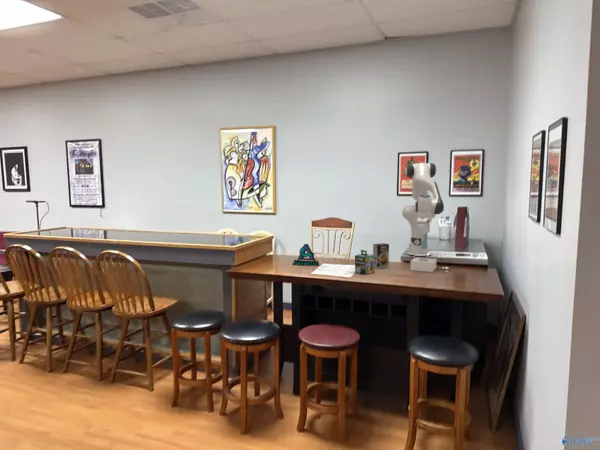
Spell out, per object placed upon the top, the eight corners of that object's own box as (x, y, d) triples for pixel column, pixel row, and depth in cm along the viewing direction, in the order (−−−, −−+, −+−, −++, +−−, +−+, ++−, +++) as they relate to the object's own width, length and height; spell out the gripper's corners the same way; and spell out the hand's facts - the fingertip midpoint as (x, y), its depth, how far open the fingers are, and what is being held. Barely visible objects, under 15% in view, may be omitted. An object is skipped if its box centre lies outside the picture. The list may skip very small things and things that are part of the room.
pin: (421, 247, 276) (421, 232, 275) (427, 248, 274) (428, 233, 273) (420, 248, 272) (420, 233, 271) (426, 248, 270) (426, 233, 269)
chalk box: (374, 272, 266) (374, 249, 265) (365, 275, 260) (365, 251, 259) (363, 270, 273) (363, 248, 272) (354, 272, 267) (354, 250, 266)
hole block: (415, 265, 284) (415, 257, 284) (436, 267, 278) (436, 258, 277) (410, 270, 272) (410, 261, 271) (432, 272, 265) (432, 262, 265)
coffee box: (377, 268, 277) (377, 245, 275) (372, 267, 283) (372, 243, 281) (389, 267, 280) (389, 244, 278) (383, 265, 286) (384, 242, 284)
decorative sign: (319, 265, 291) (319, 244, 289) (318, 266, 289) (318, 244, 287) (293, 264, 296) (293, 243, 294) (292, 265, 293) (292, 244, 292)
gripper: (422, 218, 282) (422, 238, 283) (416, 220, 264) (415, 242, 265) (432, 218, 279) (431, 238, 280) (426, 221, 261) (426, 243, 262)
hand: (424, 240), depth 273 cm, fingers closed on pin, 4 cm apart
